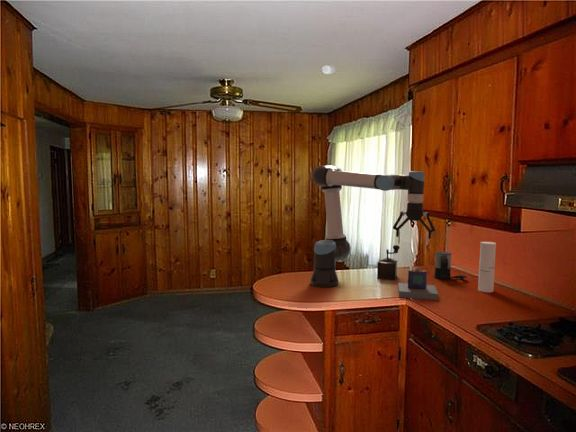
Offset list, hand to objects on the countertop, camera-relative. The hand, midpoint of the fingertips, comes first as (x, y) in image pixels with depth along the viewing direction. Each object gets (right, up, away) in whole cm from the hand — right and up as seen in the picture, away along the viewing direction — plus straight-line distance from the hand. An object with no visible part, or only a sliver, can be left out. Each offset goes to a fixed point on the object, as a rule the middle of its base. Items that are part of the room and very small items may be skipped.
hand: (412, 244), depth 204 cm
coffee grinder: (-4, -21, +33) cm, 40 cm away
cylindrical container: (+39, -25, +5) cm, 47 cm away
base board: (+2, -25, -1) cm, 25 cm away
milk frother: (+30, -22, +28) cm, 47 cm away
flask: (+2, -22, -2) cm, 22 cm away
